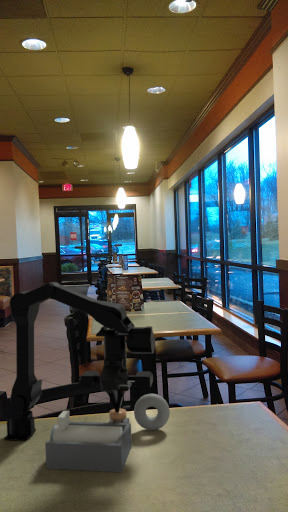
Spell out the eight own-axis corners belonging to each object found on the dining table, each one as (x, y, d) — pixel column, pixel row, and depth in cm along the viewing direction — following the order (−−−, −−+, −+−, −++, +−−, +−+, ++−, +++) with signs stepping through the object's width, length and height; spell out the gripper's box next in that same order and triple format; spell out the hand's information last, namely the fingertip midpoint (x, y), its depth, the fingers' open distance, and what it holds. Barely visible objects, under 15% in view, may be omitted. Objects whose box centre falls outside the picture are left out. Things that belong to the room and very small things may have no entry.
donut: (170, 427, 116) (169, 391, 116) (170, 432, 112) (169, 396, 112) (135, 427, 117) (133, 392, 116) (133, 432, 113) (132, 396, 113)
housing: (46, 468, 96) (45, 442, 96) (70, 434, 113) (70, 412, 113) (122, 472, 93) (121, 445, 93) (135, 436, 111) (134, 414, 111)
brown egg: (108, 435, 107) (107, 414, 107) (112, 428, 111) (111, 408, 111) (125, 436, 106) (124, 415, 106) (128, 428, 111) (127, 408, 110)
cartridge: (50, 456, 99) (48, 419, 99) (59, 444, 105) (58, 408, 105) (118, 459, 96) (116, 420, 96) (123, 446, 103) (122, 410, 102)
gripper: (71, 361, 102) (73, 423, 102) (145, 361, 99) (148, 426, 99) (84, 349, 113) (86, 406, 113) (152, 349, 110) (154, 408, 110)
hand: (117, 411), depth 109 cm, fingers closed, pressing on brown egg
